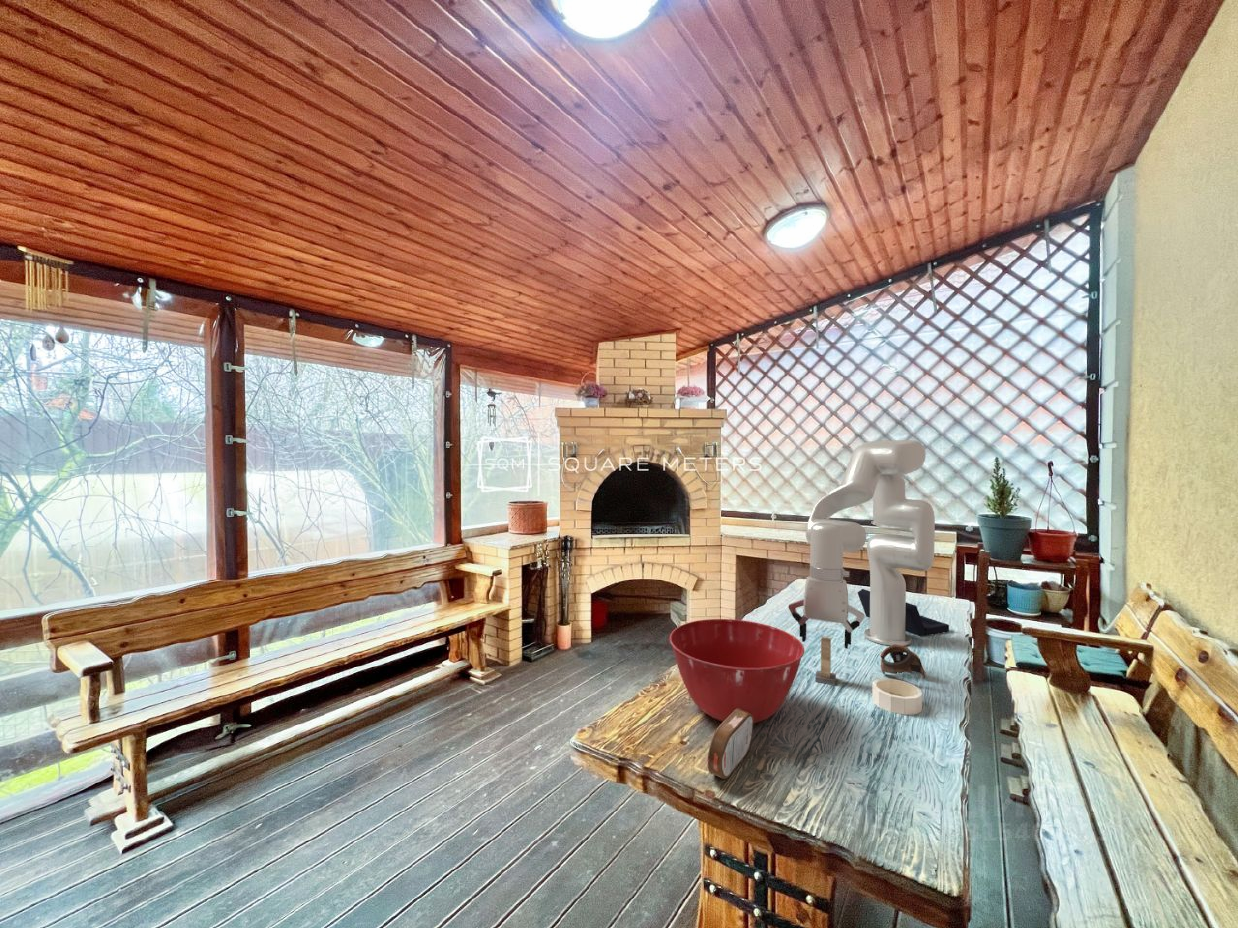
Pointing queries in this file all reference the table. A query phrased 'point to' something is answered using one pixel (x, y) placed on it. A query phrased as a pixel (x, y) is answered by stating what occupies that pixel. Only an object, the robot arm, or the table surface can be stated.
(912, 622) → the black laptop
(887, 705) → the cream faceted bowl
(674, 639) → the mixing bowl
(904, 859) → the table surface
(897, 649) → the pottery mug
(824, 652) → the wall mounted peg
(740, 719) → the tin
